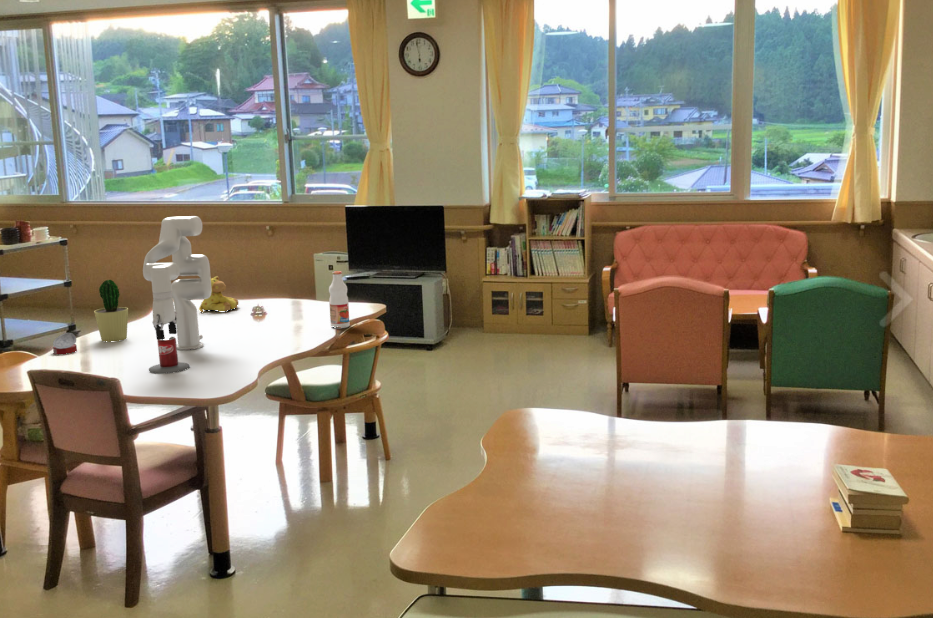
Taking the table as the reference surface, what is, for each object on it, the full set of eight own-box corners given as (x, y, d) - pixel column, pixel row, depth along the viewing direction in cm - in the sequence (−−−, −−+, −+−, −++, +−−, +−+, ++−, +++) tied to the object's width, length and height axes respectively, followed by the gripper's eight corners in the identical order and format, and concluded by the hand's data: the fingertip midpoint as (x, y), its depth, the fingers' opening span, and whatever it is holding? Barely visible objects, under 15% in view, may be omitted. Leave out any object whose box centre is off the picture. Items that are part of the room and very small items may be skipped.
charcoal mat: (161, 363, 368) (161, 361, 368) (196, 364, 365) (196, 362, 365) (141, 373, 352) (141, 371, 352) (177, 374, 349) (177, 372, 349)
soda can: (172, 368, 354) (169, 340, 352) (156, 368, 356) (153, 340, 354) (182, 364, 361) (179, 336, 359) (166, 364, 363) (163, 336, 361)
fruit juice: (335, 324, 441) (332, 270, 436) (352, 325, 439) (349, 270, 434) (327, 328, 432) (324, 272, 427) (345, 329, 430) (342, 273, 425)
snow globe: (78, 360, 400) (85, 342, 397) (58, 363, 391) (65, 344, 388) (64, 347, 404) (71, 329, 401) (45, 349, 395) (51, 331, 392)
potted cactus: (123, 335, 432) (117, 275, 426) (136, 339, 421) (130, 277, 415) (92, 340, 421) (85, 279, 416) (104, 344, 410) (98, 281, 405)
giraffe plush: (235, 312, 486) (232, 278, 483) (192, 314, 484) (189, 280, 480) (240, 306, 506) (238, 273, 503) (198, 308, 504) (196, 275, 500)
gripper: (165, 291, 362) (169, 331, 366) (142, 299, 346) (147, 341, 349) (181, 291, 361) (185, 331, 364) (160, 300, 344) (164, 341, 348)
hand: (166, 336), depth 357 cm, fingers open, 9 cm apart
